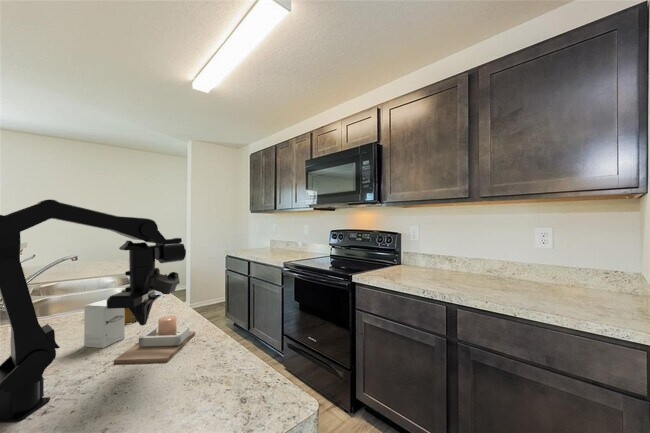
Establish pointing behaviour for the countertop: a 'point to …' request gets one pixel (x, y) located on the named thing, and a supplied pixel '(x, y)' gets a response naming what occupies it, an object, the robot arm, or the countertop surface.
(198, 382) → the countertop surface
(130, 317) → the condiment
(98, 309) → the supplement box
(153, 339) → the frame
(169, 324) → the stub
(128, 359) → the board
